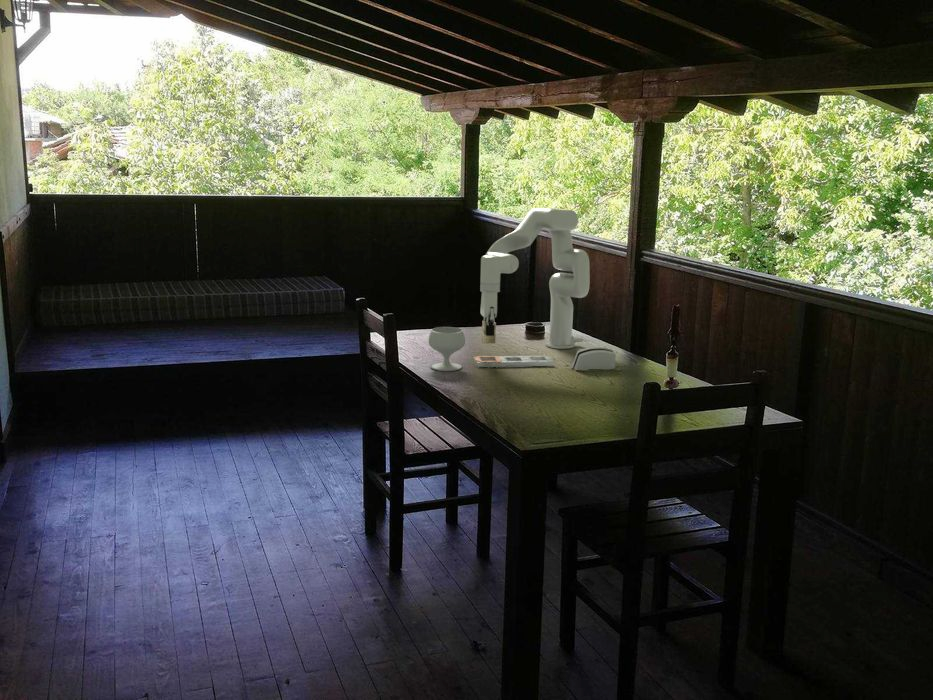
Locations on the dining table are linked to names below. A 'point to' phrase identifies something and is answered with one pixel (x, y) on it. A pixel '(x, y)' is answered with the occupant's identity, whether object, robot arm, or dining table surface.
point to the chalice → (446, 345)
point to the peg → (485, 338)
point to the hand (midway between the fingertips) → (488, 333)
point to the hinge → (594, 359)
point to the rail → (513, 361)
